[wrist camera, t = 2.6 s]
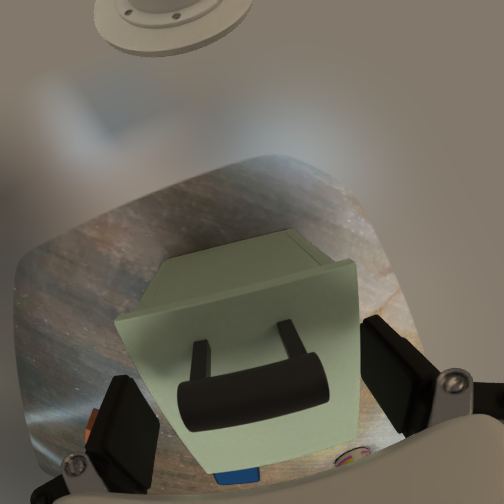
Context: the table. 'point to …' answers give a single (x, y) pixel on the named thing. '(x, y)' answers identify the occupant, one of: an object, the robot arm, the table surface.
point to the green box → (232, 267)
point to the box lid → (255, 367)
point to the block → (90, 424)
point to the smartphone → (238, 476)
